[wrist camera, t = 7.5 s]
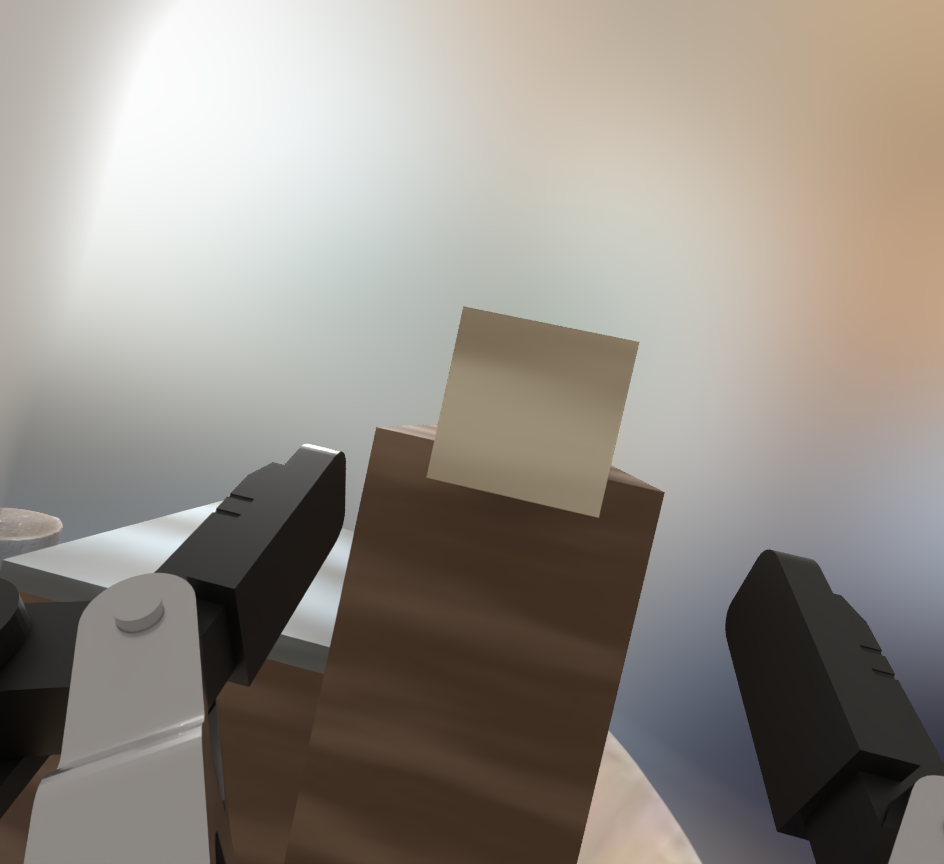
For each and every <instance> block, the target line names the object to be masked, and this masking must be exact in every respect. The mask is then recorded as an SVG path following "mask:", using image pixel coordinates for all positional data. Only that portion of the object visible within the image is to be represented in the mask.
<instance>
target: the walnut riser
mask: <svg viewBox="0 0 944 864" xmlns="http://www.w3.org/2000/svg"><path fill="white" fill-rule="evenodd" d="M437 426H438V424H437V425H413V426H391V427H376V431H375V436H374V441H373V446H372V450H371V456H370V460H369V465H368V470H367V474H366V479H365V483H364V488H363V493H362V497H361V502H360V507H359V512H358V516H357V521H356V526H355V531H354V532H353V531H350V530H345V529H341V532H340V535H339V537H338V539H337V541H336V543H335V545H334V547H333V548H332V550H331V552H330V553H329V555H328V557H327V558H326V560H325V562H324V563H323V565H322V567H321V568H320V570H319V572H318V573H317V575H316V577H315V578H314V580H313V582H312V583H311V585H310V587H309V588H308V590H307V592H306V593H305V595H304V597H303V598H302V600H301V602H300V603H299V605H298V607H297V608H296V610H295V612H294V613H293V615H292V617H291V618H290V620H289V622H288V623H287V625H286V627H285V628H284V630H283V632H282V633H281V635H280V637H279V638H278V640H277V642H276V643H275V645H274V647H273V648H272V650H271V652H270V653H269V655H268V657H267V658H266V660H265V662H264V663H263V665H262V667H261V668H260V670H259V672H258V673H257V675H256V677H255V678H254V680H253V682H252V683H251V685H250V687H246V686H243V685H239V684H235V683H232V682H228V681H227V682H226V684H225V685H224V687H223V689H222V690H221V692H220V693H219V695H218V696H217V703H218V710H219V720H220V730H221V741H222V751H223V761H224V772H225V782H226V792H227V803H228V813H229V822H230V830H231V838H232V844H233V851H234V857H235V864H577V860H578V856H579V852H580V848H581V844H582V839H583V835H584V831H585V827H586V822H587V818H588V814H589V810H590V805H591V801H592V797H593V793H594V789H595V784H596V780H597V776H598V772H599V767H600V763H601V759H602V755H603V751H604V746H605V742H606V738H607V734H608V729H609V725H610V721H611V716H612V713H613V708H614V704H615V700H616V695H617V691H618V687H619V683H620V679H621V674H622V670H623V666H624V662H625V658H626V653H627V649H628V645H629V641H630V636H631V632H632V628H633V624H634V619H635V615H636V611H637V607H638V602H639V598H640V594H641V590H642V586H643V581H644V577H645V573H646V569H647V565H648V560H649V556H650V551H651V548H652V543H653V539H654V535H655V530H656V526H657V522H658V518H659V514H660V510H661V505H662V501H663V497H664V492H663V491H661V490H659V489H657V488H655V487H653V486H651V485H649V484H647V483H645V482H643V481H641V480H639V479H637V478H635V477H633V476H631V475H629V474H627V473H625V472H623V471H621V470H619V469H617V468H615V467H613V466H611V467H610V471H609V475H608V480H607V484H606V488H605V493H604V497H603V501H602V505H601V510H600V514H599V518H598V517H594V516H589V515H585V514H581V513H576V512H572V511H568V510H564V509H559V508H555V507H551V506H546V505H542V504H538V503H534V502H529V501H525V500H521V499H516V498H512V497H508V496H504V495H499V494H495V493H491V492H486V491H482V490H478V489H474V488H469V487H465V486H461V485H456V484H452V483H448V482H444V481H439V480H435V479H431V478H427V472H428V468H429V463H430V459H431V454H432V449H433V445H434V440H435V435H436V431H437ZM222 502H223V501H220V502H216V503H213V504H209V505H205V506H201V507H198V508H194V509H190V510H187V511H183V512H179V513H175V514H171V515H168V516H164V517H160V518H157V519H153V520H149V521H145V522H142V523H138V524H134V525H130V526H127V527H123V528H119V529H115V530H112V531H108V532H104V533H100V534H97V535H93V536H89V537H85V538H82V539H78V540H74V541H71V542H67V543H63V544H59V545H56V546H52V547H48V548H44V549H41V550H37V551H33V552H29V553H26V554H22V555H18V556H14V557H11V558H7V559H3V560H2V565H1V570H0V578H1V579H5V580H7V581H9V582H11V583H12V584H13V585H14V586H15V587H16V588H17V590H18V592H19V595H20V597H21V599H22V601H23V603H42V602H76V601H91V600H93V599H94V598H95V597H97V596H98V595H99V594H100V593H102V592H103V591H104V590H106V589H107V588H109V587H111V586H112V585H114V584H116V583H118V582H120V581H122V580H125V579H128V578H130V577H134V576H138V575H142V574H148V573H154V572H155V571H156V570H157V569H158V568H159V567H160V566H161V565H162V564H163V563H164V562H165V561H166V560H167V559H168V558H169V557H170V556H171V555H172V554H173V553H174V552H175V551H176V550H177V549H178V548H179V546H180V545H181V544H182V543H183V542H184V541H185V540H186V539H187V538H188V537H189V536H190V535H191V534H192V533H193V532H194V531H195V530H196V529H197V528H198V527H199V526H200V525H201V524H202V523H203V521H204V520H205V519H206V518H207V517H208V516H209V515H210V514H211V513H212V512H214V513H215V511H216V508H217V507H218V506H219V505H220V504H221V503H222ZM60 758H61V754H58V755H50V756H49V758H48V759H47V760H46V761H45V763H44V764H43V765H42V767H41V768H40V769H39V770H38V772H37V773H36V774H35V775H34V777H33V778H32V779H31V781H30V782H29V783H28V784H27V786H26V787H25V788H24V790H23V791H22V792H21V793H20V795H19V796H18V797H17V798H16V800H15V801H14V802H13V804H12V805H11V806H10V807H9V809H8V810H7V811H6V813H5V814H4V815H3V816H2V818H1V819H0V864H24V859H25V852H26V846H27V840H28V834H29V827H30V821H31V815H32V809H33V804H34V800H35V796H36V792H37V790H38V787H39V784H40V782H41V780H42V779H43V778H44V776H45V775H47V774H48V773H51V772H54V771H56V770H57V768H58V765H59V762H60Z"/></svg>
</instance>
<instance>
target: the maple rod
mask: <svg viewBox="0 0 944 864" xmlns="http://www.w3.org/2000/svg"><path fill="white" fill-rule="evenodd" d="M638 345H639V342H636V341H632V340H627V339H622V338H616V337H612V336H607V335H602V334H597V333H592V332H587V331H582V330H577V329H572V328H567V327H562V326H557V325H552V324H548V323H543V322H538V321H532V320H528V319H522V318H517V317H513V316H508V315H502V314H498V313H493V312H488V311H483V310H478V309H473V308H468V307H463V311H462V316H461V320H460V325H459V329H458V334H457V339H456V344H455V348H454V353H453V357H452V362H451V367H450V371H449V376H448V380H447V385H446V389H445V394H444V399H443V403H442V408H441V412H440V417H439V422H438V426H437V431H436V435H435V440H434V445H433V449H432V454H431V459H430V463H429V468H428V472H427V478H431V479H435V480H439V481H444V482H448V483H452V484H456V485H461V486H465V487H469V488H474V489H478V490H482V491H486V492H491V493H495V494H499V495H504V496H508V497H512V498H516V499H521V500H525V501H529V502H534V503H538V504H542V505H546V506H551V507H555V508H559V509H564V510H568V511H572V512H576V513H581V514H585V515H589V516H594V517H598V518H599V514H600V510H601V505H602V501H603V497H604V493H605V488H606V484H607V480H608V475H609V471H610V467H611V462H612V457H613V454H614V449H615V445H616V440H617V436H618V432H619V428H620V423H621V419H622V415H623V411H624V406H625V401H626V398H627V393H628V389H629V384H630V380H631V376H632V372H633V367H634V363H635V359H636V354H637V350H638Z"/></svg>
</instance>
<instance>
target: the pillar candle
mask: <svg viewBox="0 0 944 864" xmlns="http://www.w3.org/2000/svg"><path fill="white" fill-rule="evenodd" d="M62 529H63V526H62V523H61V522H60V519H59V518H57V517H52V516H49V515H46V514H42V513H39V512H34V511H28V510H21V509H13V508H0V570H1V565H2V560H3V559H7V558H11V557H14V556H18V555H22V554H26V553H29V552H33V551H37V550H41V549H44V548H48V547H52V546H56V545H58V544H59V540H60V536H61V531H62Z"/></svg>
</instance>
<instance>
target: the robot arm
mask: <svg viewBox="0 0 944 864" xmlns="http://www.w3.org/2000/svg"><path fill="white" fill-rule="evenodd" d="M345 476H346V458H345V454H344V453H343V452H341V451H337V450H333V449H328V448H324V447H319V446H315V445H311V444H304V445H302V446H301V447H300V448H299V449H298V450H297V452H296V453H295V454H294V455H293V456H292V457H291V458H290V459H289V461H288V462H287V463H286V464H285V465H282V464H277V463H273V462H272V463H271V464H269V465H267V466H265V467H263V468H261V469H259V470H257V471H255V472H253V473H251V474H249V475H248V476H247V477H246V478H245V479H244V480H243V481H242V482H241V483H240V484H239V485H238V486H237V487H236V488H235V489H234V490H233V491H232V492H231V495H230V497H227V498H226V499H225V500H224V501H223V502H222V503H221V504H220V505H219V506H218V507H217V508H216V511H215V513H214V512H212V513H211V514H210V515H209V516H208V517H207V518H206V519H205V520H204V521H203V523H202V524H201V525H200V526H199V527H198V528H197V529H196V530H195V531H194V532H193V533H192V534H191V535H190V536H189V537H188V538H187V539H186V540H185V541H184V542H183V543H182V544H181V545H180V546H179V548H178V549H177V550H176V551H175V552H174V553H173V554H172V555H171V556H170V557H169V558H168V559H167V560H166V561H165V562H164V563H163V564H162V565H161V566H160V567H159V568H158V569H157V570H156V571H155V572H154V573H148V574H142V575H138V576H134V577H130V578H128V579H125V580H122V581H120V582H118V583H116V584H114V585H112V586H111V587H109V588H107V589H106V590H104V591H103V592H102V593H100V594H99V595H98V596H97V597H95V598H94V599H93V600H91V601H76V602H42V603H23V601H22V599H21V597H20V595H19V592H18V590H17V588H16V587H15V586H14V585H13V584H12V583H11V582H9V581H7V580H5V579H1V578H0V819H1V818H2V816H3V815H4V814H5V813H6V811H7V810H8V809H9V807H10V806H11V805H12V804H13V802H14V801H15V800H16V798H17V797H18V796H19V795H20V793H21V792H22V791H23V790H24V788H25V787H26V786H27V784H28V783H29V782H30V781H31V779H32V778H33V777H34V775H35V774H36V773H37V772H38V770H39V769H40V768H41V767H42V765H43V764H44V763H45V761H46V760H47V759H48V758H49V756H50V755H58V754H61V758H60V762H59V765H58V768H57V770H56V771H54V772H51V773H48V774H47V775H45V776H44V778H43V779H42V780H41V782H40V784H39V787H38V790H37V792H36V796H35V800H34V804H33V809H32V815H31V821H30V827H29V834H28V840H27V846H26V852H25V859H24V864H235V857H234V851H233V844H232V838H231V830H230V822H229V813H228V803H227V792H226V782H225V772H224V761H223V751H222V741H221V730H220V720H219V710H218V703H217V696H218V695H219V693H220V692H221V690H222V689H223V687H224V685H225V684H226V682H227V681H228V682H232V683H235V684H239V685H243V686H246V687H250V685H251V683H252V682H253V680H254V678H255V677H256V675H257V673H258V672H259V670H260V668H261V667H262V665H263V663H264V662H265V660H266V658H267V657H268V655H269V653H270V652H271V650H272V648H273V647H274V645H275V643H276V642H277V640H278V638H279V637H280V635H281V633H282V632H283V630H284V628H285V627H286V625H287V623H288V622H289V620H290V618H291V617H292V615H293V613H294V612H295V610H296V608H297V607H298V605H299V603H300V602H301V600H302V598H303V597H304V595H305V593H306V592H307V590H308V588H309V587H310V585H311V583H312V582H313V580H314V578H315V577H316V575H317V573H318V572H319V570H320V568H321V567H322V565H323V563H324V562H325V560H326V558H327V557H328V555H329V553H330V552H331V550H332V548H333V547H334V545H335V543H336V541H337V539H338V537H339V535H340V532H341V529H342V526H343V521H344V516H345V480H346V477H345ZM725 627H726V628H725V630H726V638H727V642H728V646H729V650H730V654H731V657H732V661H733V665H734V669H735V673H736V677H737V681H738V684H739V688H740V692H741V696H742V700H743V704H744V707H745V711H746V715H747V719H748V723H749V726H750V730H751V734H752V738H753V742H754V746H755V749H756V753H757V757H758V761H759V765H760V769H761V772H762V776H763V780H764V784H765V788H766V791H767V795H768V799H769V803H770V807H771V810H772V814H773V818H774V822H775V826H776V830H777V832H781V833H784V834H787V835H791V836H795V837H798V838H802V839H805V840H809V841H810V845H811V848H812V851H813V855H814V857H815V861H816V864H944V763H943V761H942V759H941V757H940V756H939V754H938V752H937V750H936V748H935V747H934V745H933V743H932V741H931V739H930V737H929V736H928V734H927V732H926V730H925V728H924V726H923V725H922V723H921V721H920V719H919V718H918V716H917V714H916V712H915V710H914V708H913V706H912V705H911V703H910V701H909V699H908V697H907V695H906V694H905V692H904V690H903V689H902V686H901V684H900V683H899V681H898V680H895V679H894V675H895V673H894V672H893V670H892V668H891V666H890V664H889V663H888V661H887V659H886V657H885V656H882V655H881V651H882V650H881V648H880V646H879V644H878V643H877V641H876V639H875V637H874V635H873V633H872V632H871V630H870V628H869V626H868V625H867V622H866V621H865V620H864V619H863V618H862V617H861V616H860V615H859V614H858V613H857V612H856V611H855V610H854V609H853V608H852V606H851V605H850V604H849V603H848V602H847V601H846V600H845V599H844V598H843V597H842V596H841V595H837V594H833V592H832V590H831V588H830V586H829V584H828V582H827V580H826V578H825V577H824V575H823V573H822V571H821V569H820V567H819V565H818V564H817V563H816V562H815V561H814V560H812V559H808V558H804V557H799V556H795V555H790V554H786V553H782V552H778V551H774V550H765V551H764V552H762V553H761V554H760V556H759V557H758V558H757V560H756V562H755V564H754V565H753V567H752V569H751V570H750V572H749V574H748V575H747V577H746V579H745V580H744V582H743V584H742V586H741V587H740V589H739V590H738V592H737V594H736V595H735V597H734V599H733V600H732V602H731V604H730V606H729V609H728V612H727V617H726V625H725Z"/></svg>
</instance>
